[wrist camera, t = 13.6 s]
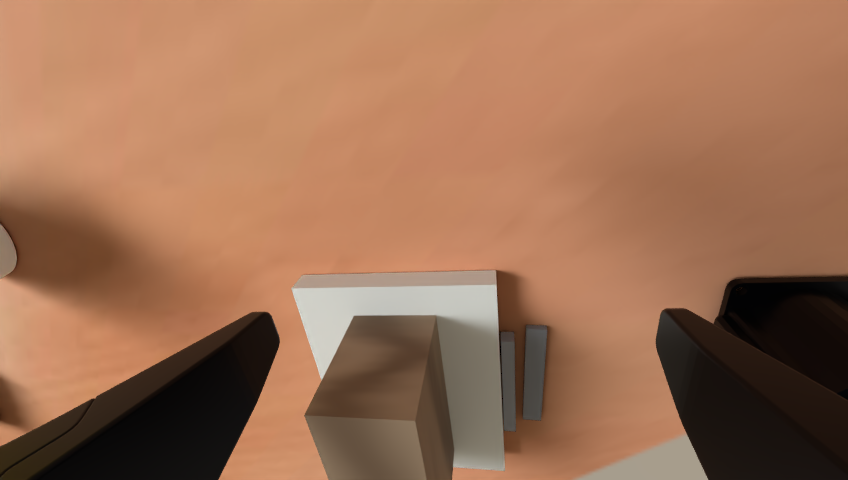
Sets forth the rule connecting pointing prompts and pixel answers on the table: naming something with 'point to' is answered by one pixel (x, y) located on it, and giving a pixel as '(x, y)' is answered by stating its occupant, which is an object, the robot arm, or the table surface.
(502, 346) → the long grey stick
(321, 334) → the board
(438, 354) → the block
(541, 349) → the pencil mark
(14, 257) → the cup
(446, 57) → the table surface
